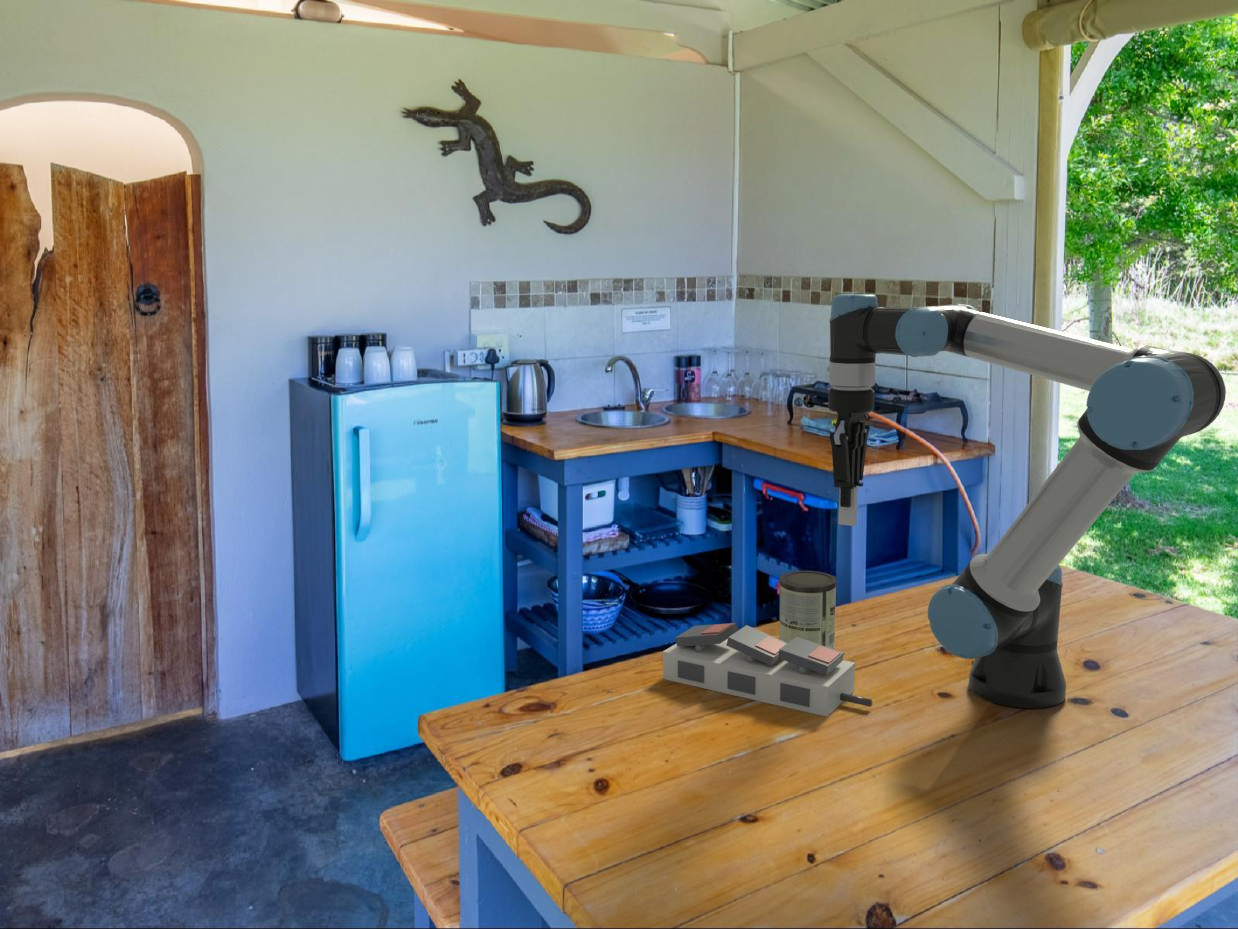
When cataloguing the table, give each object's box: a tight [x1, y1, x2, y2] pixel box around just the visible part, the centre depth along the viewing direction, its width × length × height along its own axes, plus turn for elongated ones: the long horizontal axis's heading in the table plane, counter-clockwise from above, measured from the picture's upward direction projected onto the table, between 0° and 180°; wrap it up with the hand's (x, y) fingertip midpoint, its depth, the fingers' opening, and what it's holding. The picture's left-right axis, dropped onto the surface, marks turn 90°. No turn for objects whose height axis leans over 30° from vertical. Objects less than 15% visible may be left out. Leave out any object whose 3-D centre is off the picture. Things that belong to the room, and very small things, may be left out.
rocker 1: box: [674, 622, 739, 647], centre depth 183 cm, size 8×7×2 cm
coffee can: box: [778, 570, 838, 649], centre depth 193 cm, size 10×10×14 cm
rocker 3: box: [778, 637, 845, 675], centre depth 173 cm, size 8×7×2 cm
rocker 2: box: [726, 624, 787, 666], centre depth 178 cm, size 8×7×2 cm
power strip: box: [662, 639, 873, 717], centre depth 178 cm, size 35×12×6 cm, turn 57°
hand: (847, 524), depth 181 cm, fingers closed
